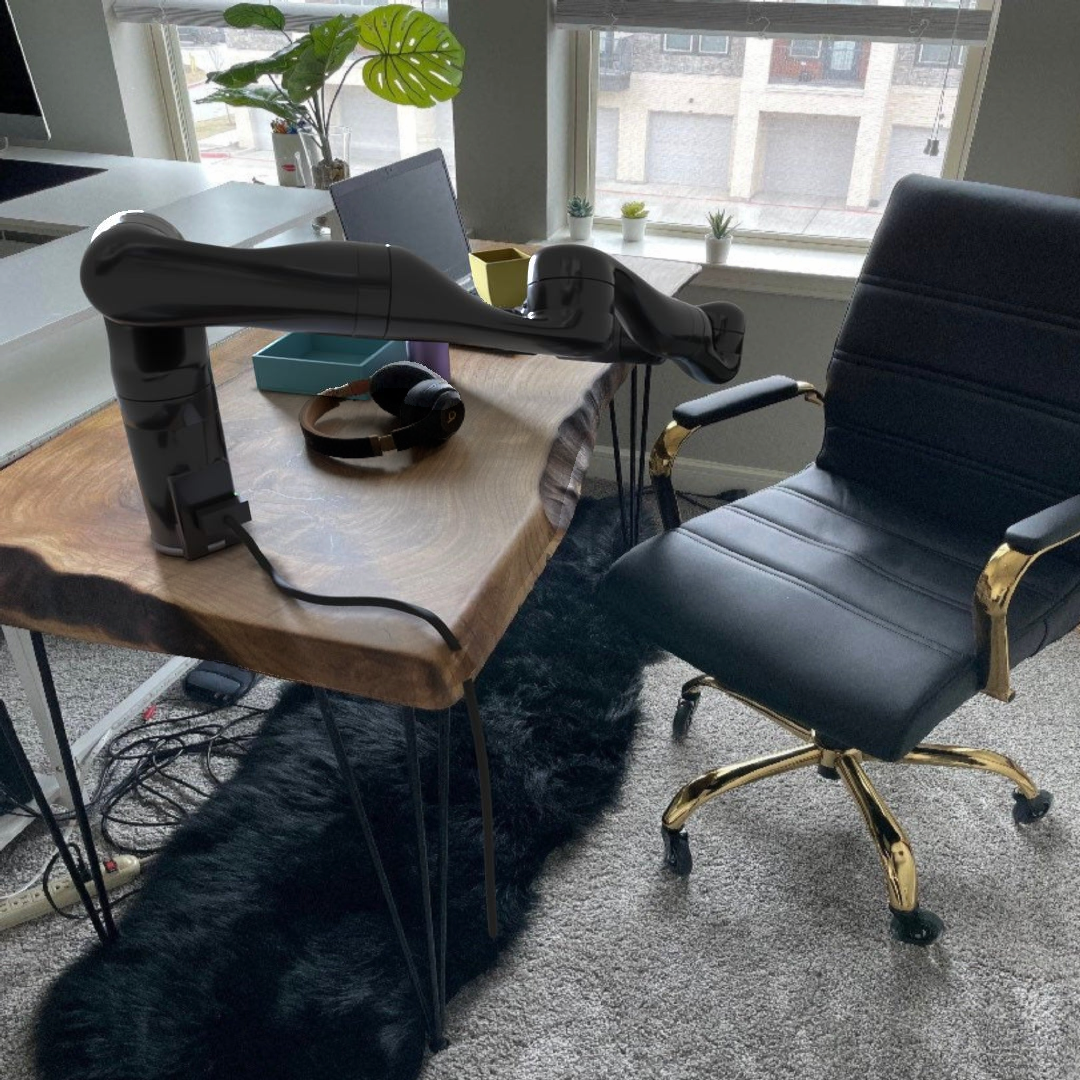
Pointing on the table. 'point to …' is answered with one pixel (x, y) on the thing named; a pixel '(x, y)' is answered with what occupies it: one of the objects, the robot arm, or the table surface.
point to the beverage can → (431, 356)
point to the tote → (322, 362)
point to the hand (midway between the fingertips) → (478, 324)
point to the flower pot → (501, 276)
